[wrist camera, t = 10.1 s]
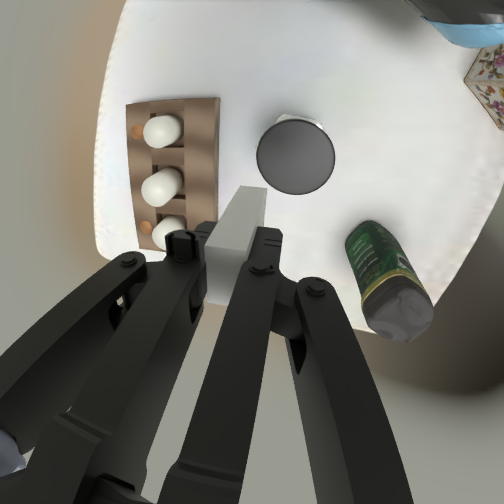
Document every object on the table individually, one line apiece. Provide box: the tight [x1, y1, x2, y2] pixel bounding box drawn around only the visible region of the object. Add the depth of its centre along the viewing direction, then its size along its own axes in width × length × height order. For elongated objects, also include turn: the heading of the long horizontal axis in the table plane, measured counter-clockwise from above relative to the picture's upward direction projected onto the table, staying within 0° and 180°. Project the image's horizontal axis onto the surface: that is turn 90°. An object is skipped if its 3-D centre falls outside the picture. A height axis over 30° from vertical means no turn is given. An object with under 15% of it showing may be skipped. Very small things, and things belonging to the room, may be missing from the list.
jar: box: [256, 114, 335, 195], centre depth 31 cm, size 9×8×12 cm
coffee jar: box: [345, 222, 434, 342], centre depth 35 cm, size 10×8×19 cm
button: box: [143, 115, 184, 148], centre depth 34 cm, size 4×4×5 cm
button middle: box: [141, 167, 183, 207], centre depth 37 cm, size 4×4×5 cm
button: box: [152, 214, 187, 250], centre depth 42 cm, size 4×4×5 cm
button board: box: [126, 98, 220, 252], centre depth 40 cm, size 25×14×3 cm, turn 177°
